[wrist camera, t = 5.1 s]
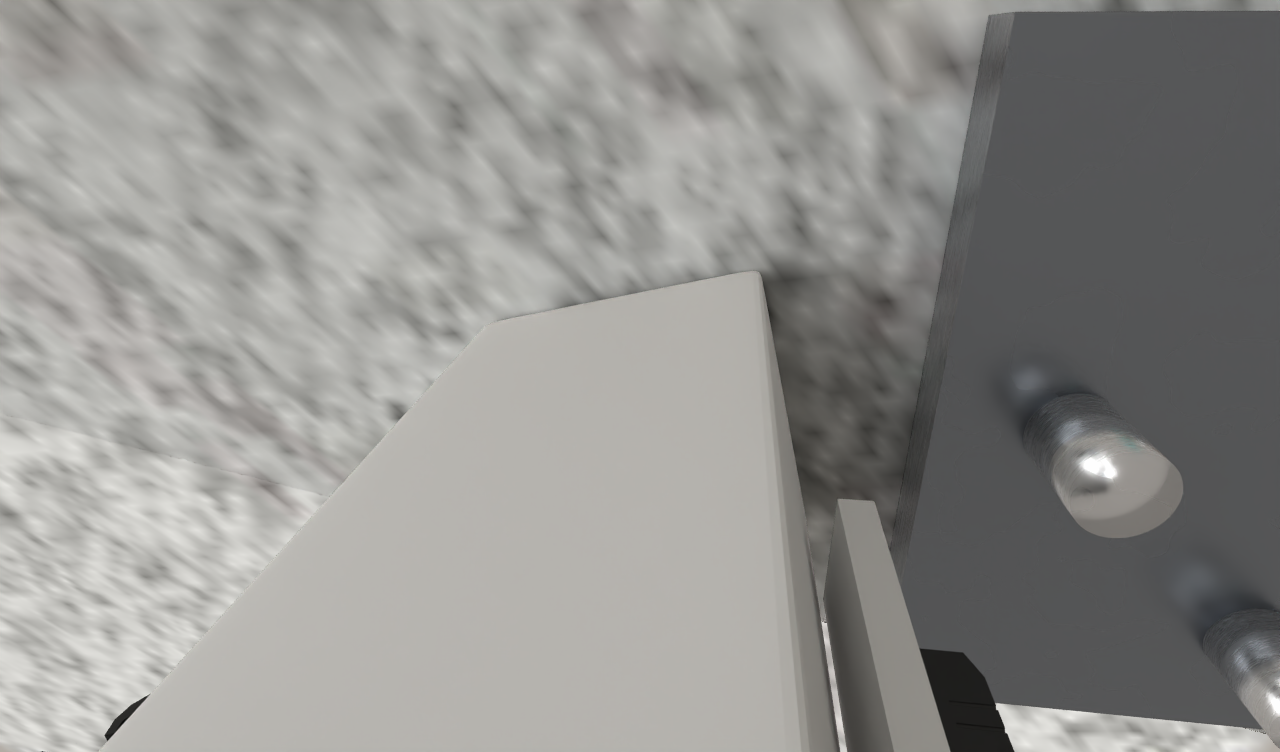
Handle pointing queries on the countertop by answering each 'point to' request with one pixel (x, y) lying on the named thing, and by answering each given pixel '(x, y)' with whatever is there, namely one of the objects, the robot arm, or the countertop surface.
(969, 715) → the robot arm
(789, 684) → the milk carton
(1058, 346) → the plate
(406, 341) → the countertop surface
